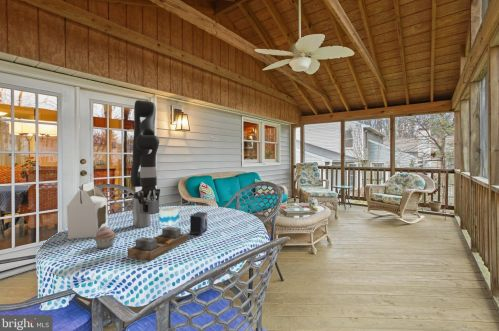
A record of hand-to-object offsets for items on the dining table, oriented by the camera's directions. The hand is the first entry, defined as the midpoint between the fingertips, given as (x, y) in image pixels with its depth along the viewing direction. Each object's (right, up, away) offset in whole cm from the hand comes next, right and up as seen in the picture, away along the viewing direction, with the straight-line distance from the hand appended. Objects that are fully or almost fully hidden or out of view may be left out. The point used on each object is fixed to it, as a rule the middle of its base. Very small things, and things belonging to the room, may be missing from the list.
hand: (149, 211), depth 129 cm
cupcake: (-20, -17, -3) cm, 26 cm away
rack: (+7, -16, -5) cm, 19 cm away
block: (0, -1, 0) cm, 1 cm away
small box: (+21, -16, +19) cm, 32 cm away
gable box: (-41, -16, +20) cm, 48 cm away
